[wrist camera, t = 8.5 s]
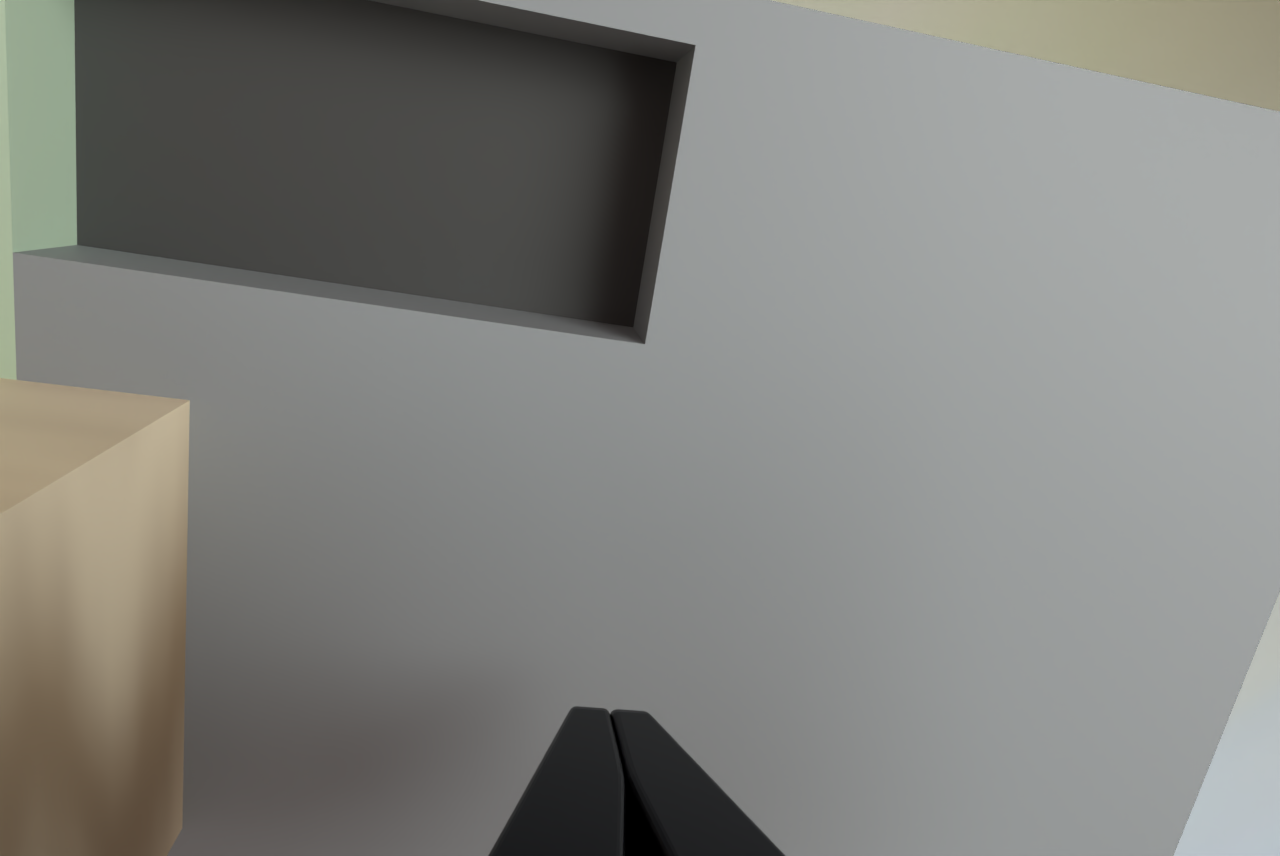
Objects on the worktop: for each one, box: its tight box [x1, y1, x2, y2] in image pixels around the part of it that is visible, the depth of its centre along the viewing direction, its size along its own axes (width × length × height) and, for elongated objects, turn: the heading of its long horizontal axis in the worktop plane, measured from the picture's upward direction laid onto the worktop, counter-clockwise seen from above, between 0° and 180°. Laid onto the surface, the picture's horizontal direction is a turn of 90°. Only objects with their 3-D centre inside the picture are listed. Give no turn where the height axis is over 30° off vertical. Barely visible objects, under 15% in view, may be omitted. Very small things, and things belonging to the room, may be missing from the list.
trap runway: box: [0, 0, 1280, 856], centre depth 10 cm, size 16×24×4 cm, turn 81°
